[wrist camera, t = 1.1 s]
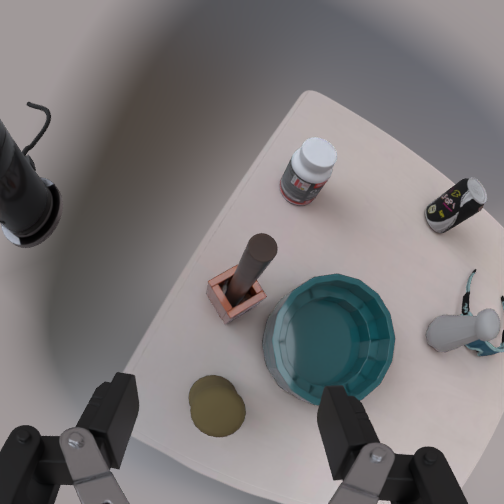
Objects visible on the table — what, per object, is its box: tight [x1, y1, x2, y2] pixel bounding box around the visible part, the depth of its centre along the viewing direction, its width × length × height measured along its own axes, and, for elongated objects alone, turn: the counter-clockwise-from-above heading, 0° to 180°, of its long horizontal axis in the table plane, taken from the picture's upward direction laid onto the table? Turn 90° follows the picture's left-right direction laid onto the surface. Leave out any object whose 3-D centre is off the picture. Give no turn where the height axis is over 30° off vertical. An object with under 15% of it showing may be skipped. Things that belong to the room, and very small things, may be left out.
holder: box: [206, 265, 267, 324], centre depth 37 cm, size 5×5×7 cm
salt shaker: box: [426, 309, 500, 352], centre depth 38 cm, size 6×6×13 cm
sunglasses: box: [460, 269, 504, 356], centre depth 45 cm, size 14×15×5 cm
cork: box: [189, 375, 246, 437], centre depth 31 cm, size 6×6×11 cm
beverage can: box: [426, 177, 487, 233], centre depth 45 cm, size 6×6×12 cm
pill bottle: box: [280, 137, 337, 205], centre depth 43 cm, size 6×6×10 cm
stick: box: [225, 233, 277, 307], centre depth 31 cm, size 2×2×20 cm
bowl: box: [262, 274, 395, 405], centre depth 38 cm, size 16×16×6 cm
